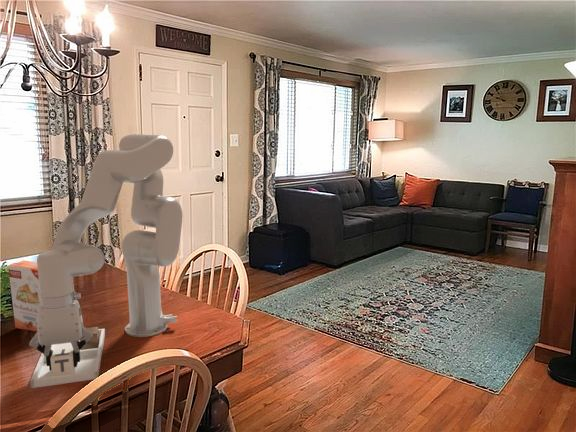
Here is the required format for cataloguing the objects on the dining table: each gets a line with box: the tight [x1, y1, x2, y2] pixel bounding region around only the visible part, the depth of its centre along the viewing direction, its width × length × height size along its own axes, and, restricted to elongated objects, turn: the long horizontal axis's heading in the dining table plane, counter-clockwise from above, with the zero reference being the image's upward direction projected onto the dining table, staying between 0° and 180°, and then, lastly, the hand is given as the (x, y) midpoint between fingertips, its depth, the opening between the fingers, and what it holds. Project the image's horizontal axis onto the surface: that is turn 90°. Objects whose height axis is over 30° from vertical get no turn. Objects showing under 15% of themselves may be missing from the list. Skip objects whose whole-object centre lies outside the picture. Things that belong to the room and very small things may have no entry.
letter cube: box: [50, 347, 75, 377], centre depth 118 cm, size 5×5×5 cm
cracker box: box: [7, 260, 41, 333], centre depth 142 cm, size 14×6×21 cm, turn 69°
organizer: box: [29, 328, 106, 389], centre depth 125 cm, size 15×26×2 cm, turn 18°
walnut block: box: [80, 326, 100, 350], centre depth 132 cm, size 4×4×4 cm
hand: (64, 365), depth 119 cm, fingers closed on letter cube, 4 cm apart
